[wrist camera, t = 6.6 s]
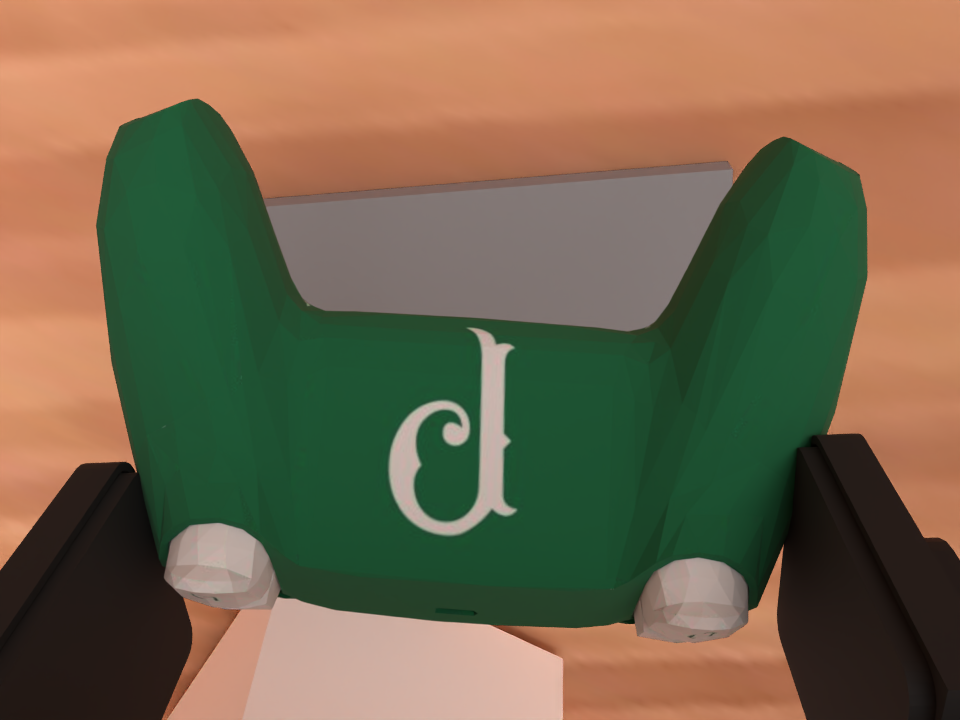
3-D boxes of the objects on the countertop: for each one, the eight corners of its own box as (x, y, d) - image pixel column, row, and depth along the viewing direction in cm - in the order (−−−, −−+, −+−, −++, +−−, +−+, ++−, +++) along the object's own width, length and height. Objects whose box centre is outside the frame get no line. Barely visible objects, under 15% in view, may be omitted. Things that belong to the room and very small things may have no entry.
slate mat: (727, 161, 26) (733, 169, 26) (716, 521, 33) (720, 535, 32) (188, 204, 28) (180, 213, 27) (274, 543, 34) (269, 558, 33)
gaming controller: (193, 207, 14) (125, 601, 13) (97, 65, 11) (-16, 591, 9) (782, 247, 14) (792, 650, 13) (887, 116, 11) (920, 661, 9)
